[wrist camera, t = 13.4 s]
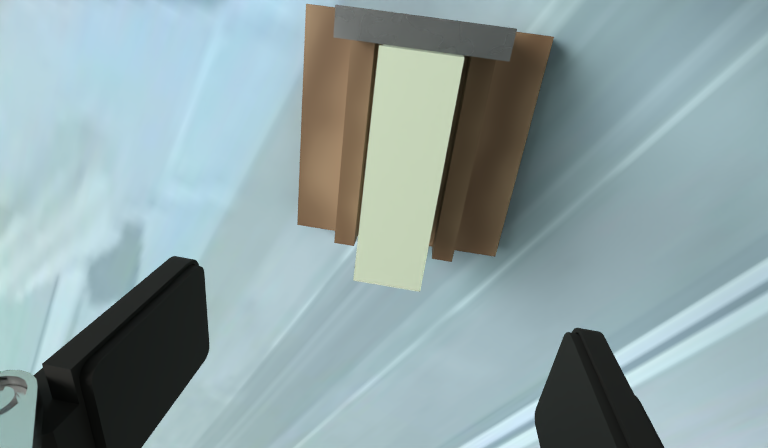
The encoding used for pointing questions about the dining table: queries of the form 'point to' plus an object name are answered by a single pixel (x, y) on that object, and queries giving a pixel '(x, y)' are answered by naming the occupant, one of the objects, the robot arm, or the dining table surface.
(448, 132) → the pale green foam block
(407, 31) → the bookend
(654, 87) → the dining table surface
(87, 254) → the dining table surface
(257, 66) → the dining table surface
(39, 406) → the robot arm
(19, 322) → the dining table surface
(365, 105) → the wooden slotted rack
